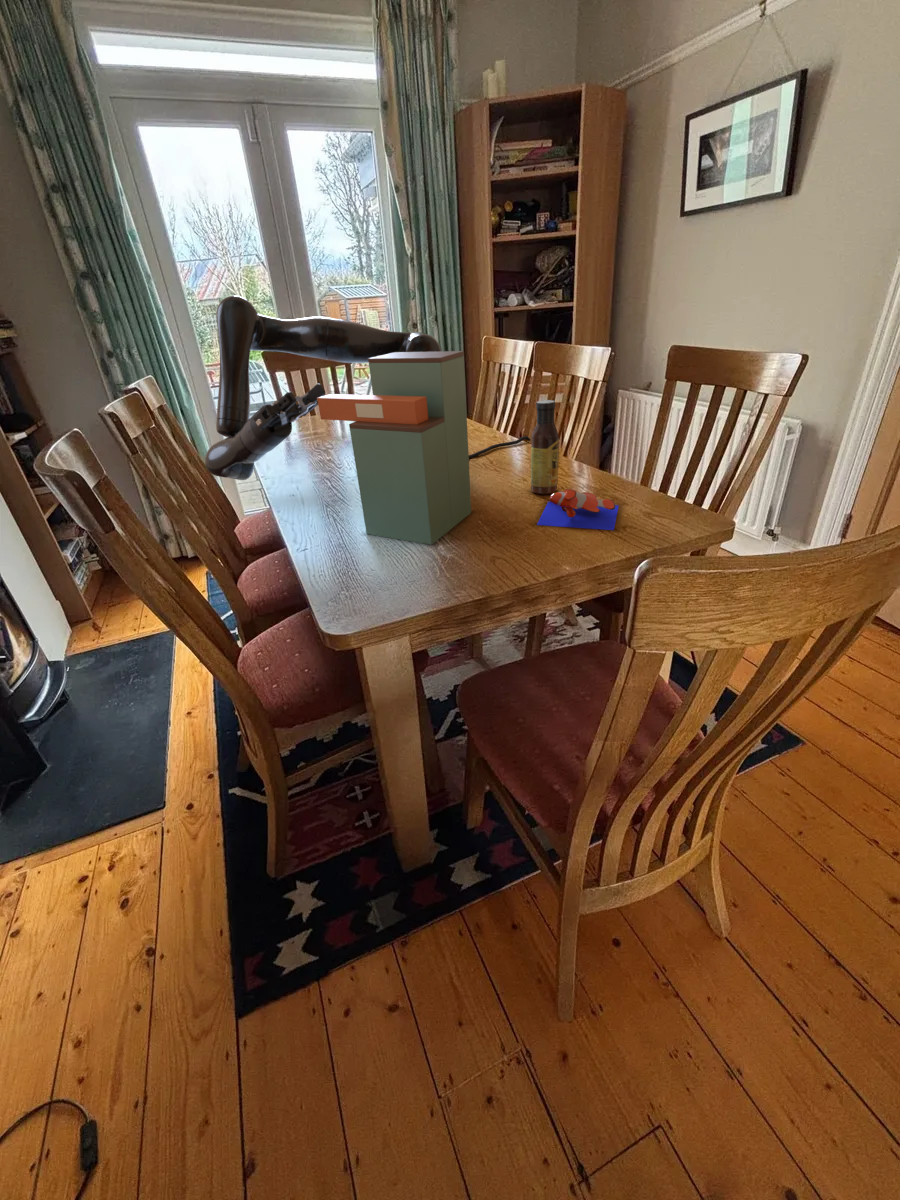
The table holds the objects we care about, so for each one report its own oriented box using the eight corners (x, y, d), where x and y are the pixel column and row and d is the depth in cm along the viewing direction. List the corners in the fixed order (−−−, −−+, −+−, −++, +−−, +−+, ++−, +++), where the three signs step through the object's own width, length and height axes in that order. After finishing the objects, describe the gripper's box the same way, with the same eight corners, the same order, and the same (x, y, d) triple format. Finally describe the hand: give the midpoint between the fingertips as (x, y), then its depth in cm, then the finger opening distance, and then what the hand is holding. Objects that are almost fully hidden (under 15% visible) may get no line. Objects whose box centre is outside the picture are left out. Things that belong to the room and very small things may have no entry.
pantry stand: (366, 534, 109) (339, 365, 92) (411, 504, 122) (394, 352, 105) (431, 545, 102) (415, 364, 85) (471, 512, 115) (463, 351, 98)
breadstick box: (320, 419, 103) (316, 397, 101) (334, 414, 106) (330, 393, 104) (416, 424, 93) (414, 401, 91) (428, 419, 96) (426, 396, 94)
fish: (547, 495, 106) (554, 481, 112) (546, 517, 108) (553, 502, 115) (614, 498, 102) (617, 484, 108) (612, 521, 104) (615, 505, 111)
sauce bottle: (557, 495, 120) (560, 404, 110) (529, 495, 121) (530, 405, 111) (557, 486, 126) (561, 398, 115) (531, 486, 127) (532, 399, 117)
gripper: (229, 422, 108) (270, 380, 97) (279, 407, 118) (320, 368, 108) (251, 455, 109) (293, 417, 99) (298, 437, 120) (341, 402, 110)
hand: (307, 391), depth 104 cm, fingers open, 8 cm apart
